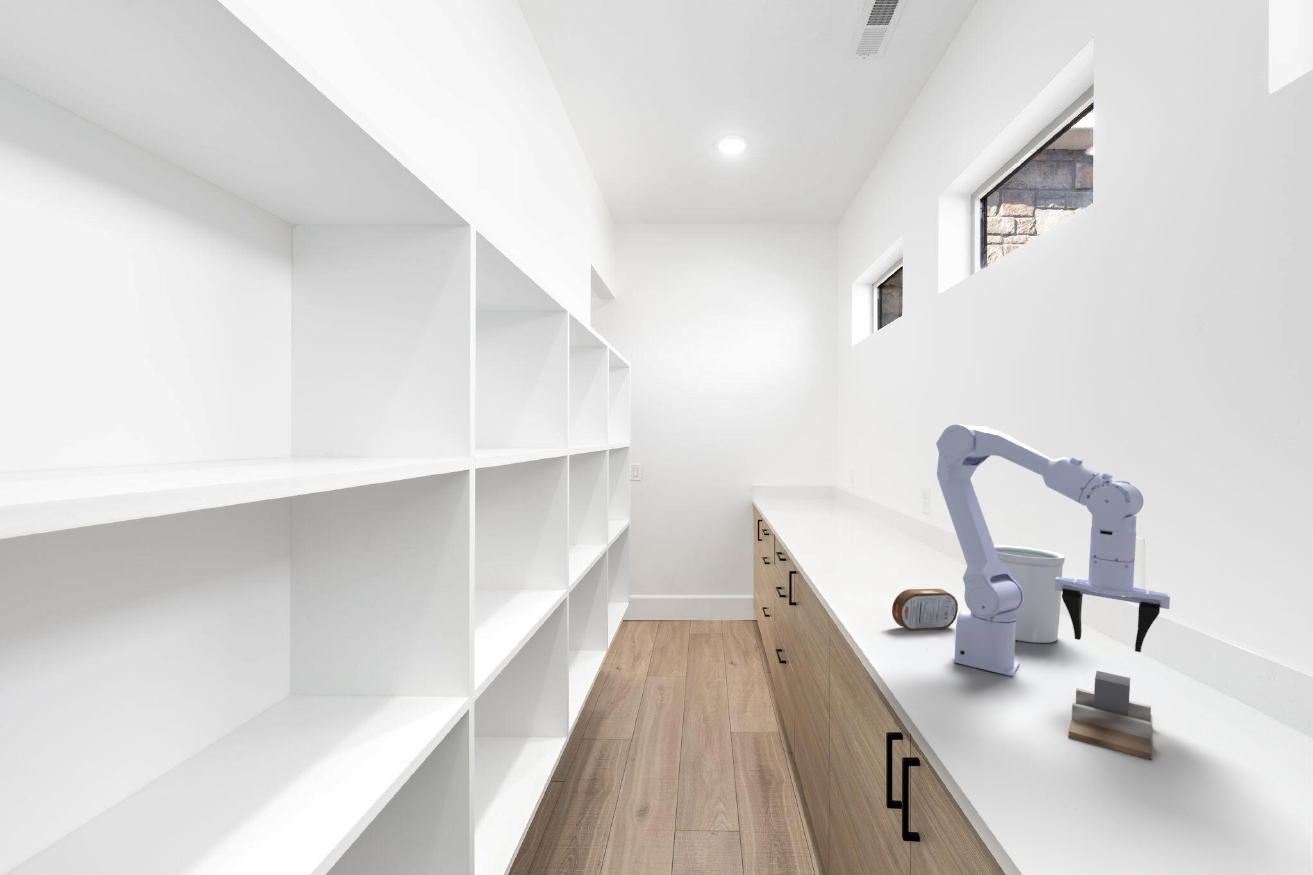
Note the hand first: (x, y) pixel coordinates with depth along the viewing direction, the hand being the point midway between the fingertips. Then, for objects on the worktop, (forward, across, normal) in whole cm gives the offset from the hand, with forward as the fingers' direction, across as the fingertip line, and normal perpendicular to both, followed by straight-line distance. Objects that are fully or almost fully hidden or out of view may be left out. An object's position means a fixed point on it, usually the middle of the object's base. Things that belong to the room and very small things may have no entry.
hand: (1107, 643), depth 98 cm
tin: (+10, -32, +19) cm, 38 cm away
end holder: (+9, +1, -9) cm, 13 cm away
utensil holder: (+10, -16, +31) cm, 36 cm away
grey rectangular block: (+8, +1, -9) cm, 12 cm away
